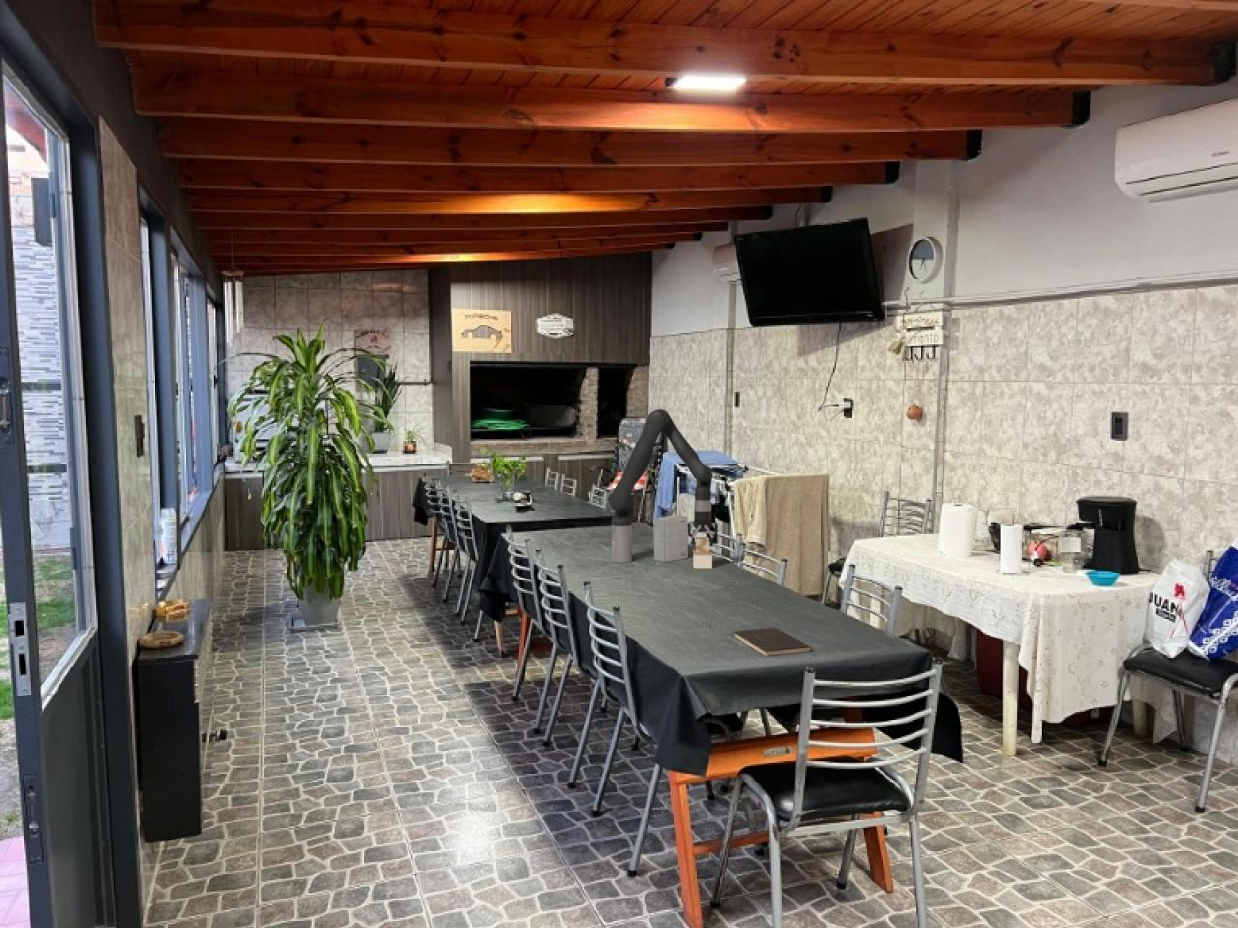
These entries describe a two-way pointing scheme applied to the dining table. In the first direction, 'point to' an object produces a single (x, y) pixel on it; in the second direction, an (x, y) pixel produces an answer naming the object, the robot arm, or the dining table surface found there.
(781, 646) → the hardcover book
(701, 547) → the beech block
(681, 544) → the hard drive box
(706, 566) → the tea tin
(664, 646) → the dining table surface
